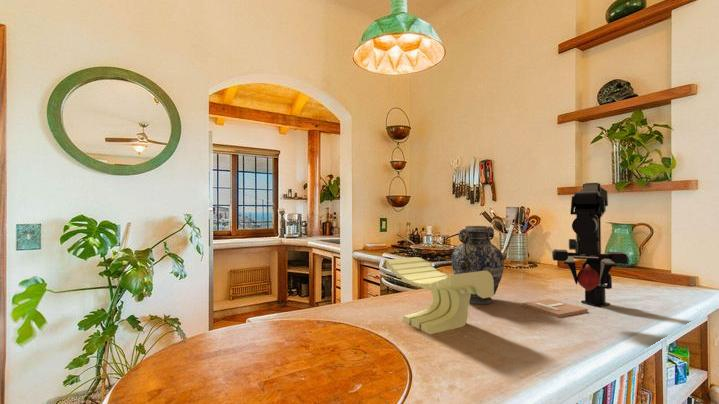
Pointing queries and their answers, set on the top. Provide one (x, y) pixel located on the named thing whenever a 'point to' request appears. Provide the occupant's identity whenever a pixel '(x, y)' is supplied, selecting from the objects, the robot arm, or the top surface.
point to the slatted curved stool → (441, 293)
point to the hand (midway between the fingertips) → (588, 284)
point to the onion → (588, 278)
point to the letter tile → (554, 307)
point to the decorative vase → (478, 257)
